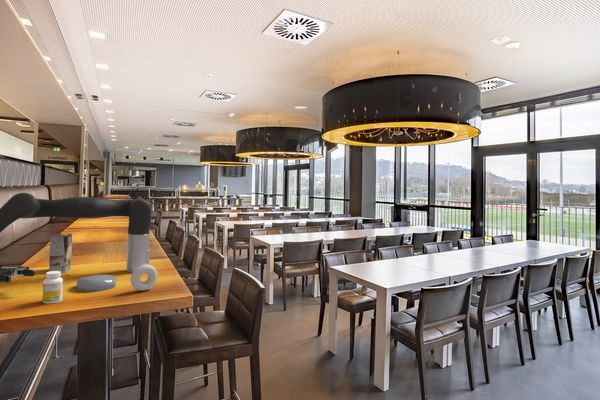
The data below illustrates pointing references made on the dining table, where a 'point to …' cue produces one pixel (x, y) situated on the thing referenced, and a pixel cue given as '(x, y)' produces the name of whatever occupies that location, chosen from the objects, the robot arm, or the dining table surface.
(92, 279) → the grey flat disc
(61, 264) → the coffee box
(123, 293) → the dining table surface
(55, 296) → the supplement bottle
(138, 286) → the donut
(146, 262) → the robot arm
